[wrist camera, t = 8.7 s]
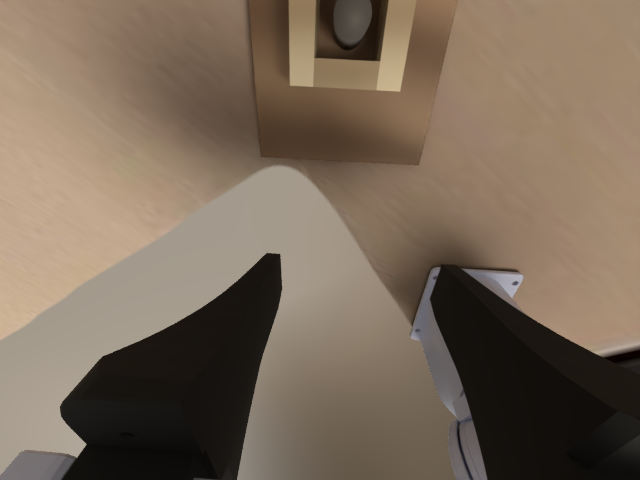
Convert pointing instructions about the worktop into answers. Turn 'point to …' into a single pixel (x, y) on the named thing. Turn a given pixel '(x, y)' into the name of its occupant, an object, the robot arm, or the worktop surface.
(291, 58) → the ring
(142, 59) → the worktop surface
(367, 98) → the post board
